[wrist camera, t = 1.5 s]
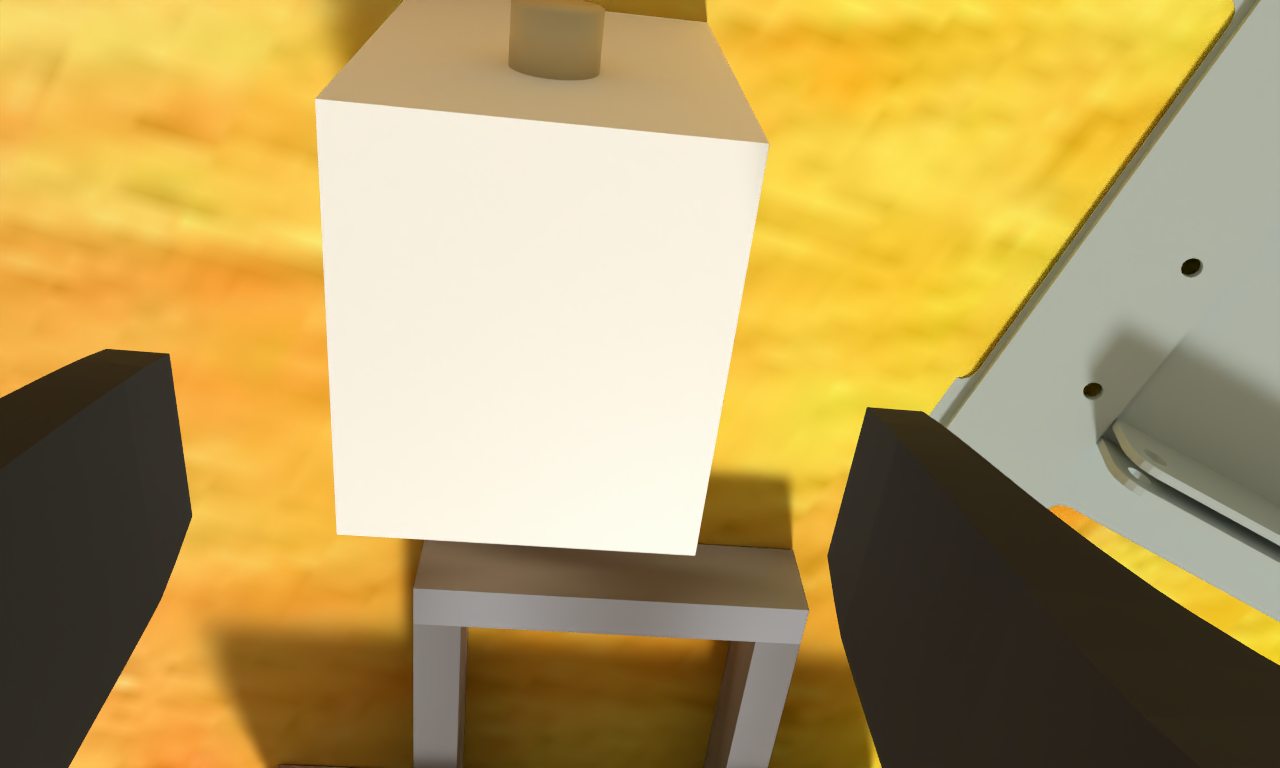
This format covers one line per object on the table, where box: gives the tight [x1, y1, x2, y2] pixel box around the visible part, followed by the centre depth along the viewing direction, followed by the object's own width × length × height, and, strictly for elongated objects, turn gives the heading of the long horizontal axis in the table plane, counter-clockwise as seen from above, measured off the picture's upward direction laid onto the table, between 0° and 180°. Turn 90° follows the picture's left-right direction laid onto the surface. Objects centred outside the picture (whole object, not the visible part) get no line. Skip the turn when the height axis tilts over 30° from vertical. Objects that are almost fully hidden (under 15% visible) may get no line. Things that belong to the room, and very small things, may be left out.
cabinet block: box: [315, 0, 769, 556], centre depth 15 cm, size 5×7×7 cm
